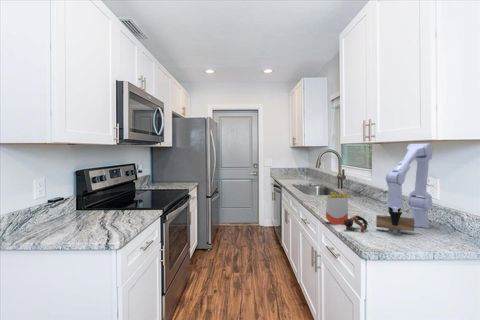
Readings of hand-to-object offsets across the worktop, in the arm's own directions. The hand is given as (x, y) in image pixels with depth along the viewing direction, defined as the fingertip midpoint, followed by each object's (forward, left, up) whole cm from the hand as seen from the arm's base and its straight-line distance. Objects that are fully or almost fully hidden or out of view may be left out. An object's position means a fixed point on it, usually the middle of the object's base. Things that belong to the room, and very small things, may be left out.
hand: (394, 223), depth 128 cm
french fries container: (-3, -28, -5) cm, 29 cm away
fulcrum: (0, 0, -4) cm, 4 cm away
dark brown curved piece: (+4, -18, -5) cm, 19 cm away
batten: (0, 0, -2) cm, 2 cm away
